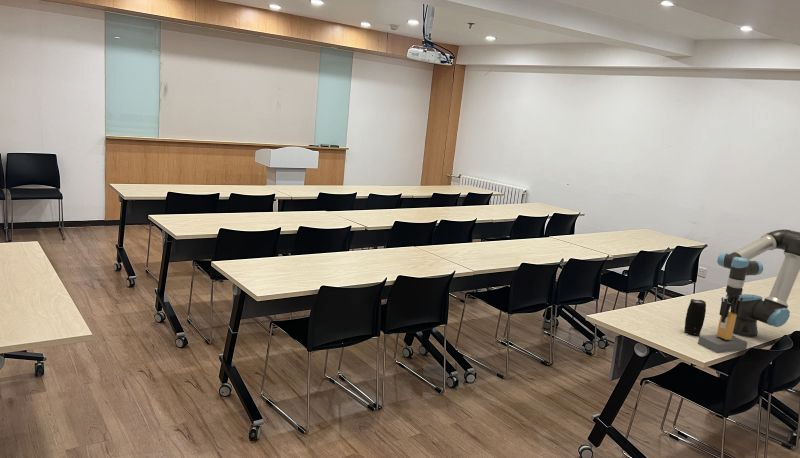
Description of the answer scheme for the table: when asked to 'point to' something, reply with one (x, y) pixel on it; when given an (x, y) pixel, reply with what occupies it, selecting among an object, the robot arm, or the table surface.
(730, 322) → the plug
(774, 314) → the robot arm
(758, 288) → the table surface
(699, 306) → the portable speaker
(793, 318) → the table surface
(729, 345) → the grey slotted base
